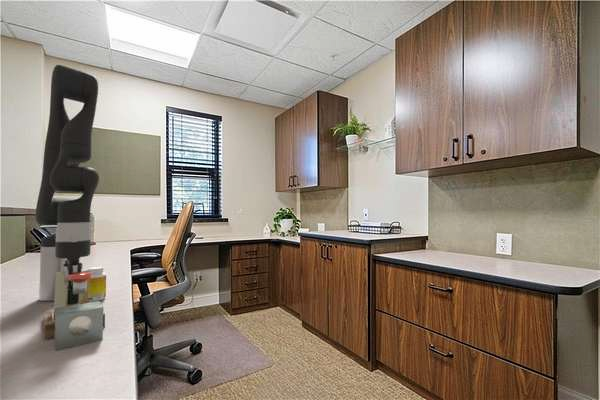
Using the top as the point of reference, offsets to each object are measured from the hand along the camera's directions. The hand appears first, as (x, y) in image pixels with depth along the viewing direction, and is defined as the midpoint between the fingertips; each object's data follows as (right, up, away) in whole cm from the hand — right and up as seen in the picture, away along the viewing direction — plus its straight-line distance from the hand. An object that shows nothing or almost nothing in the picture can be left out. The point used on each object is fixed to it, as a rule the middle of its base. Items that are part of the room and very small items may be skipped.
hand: (71, 300), depth 78 cm
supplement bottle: (-5, -5, +16) cm, 17 cm away
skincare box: (0, -4, 0) cm, 5 cm away
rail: (+3, -4, -4) cm, 7 cm away
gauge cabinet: (+13, -3, -15) cm, 20 cm away
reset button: (+13, +7, -14) cm, 20 cm away
